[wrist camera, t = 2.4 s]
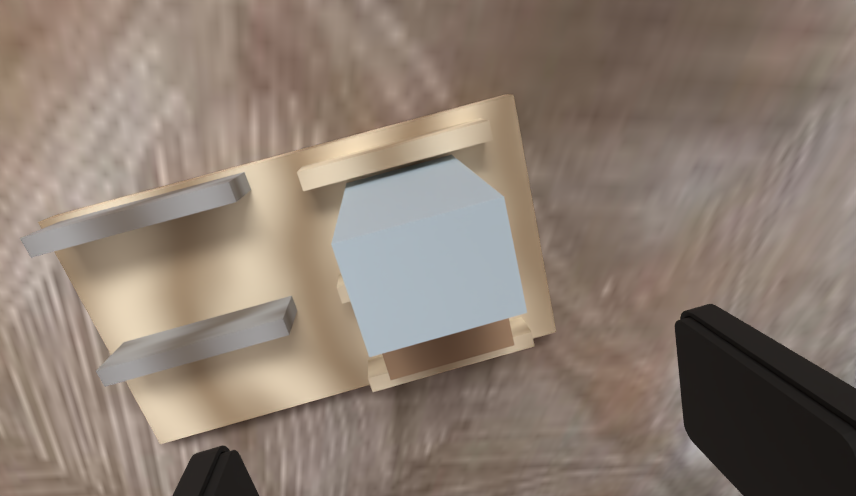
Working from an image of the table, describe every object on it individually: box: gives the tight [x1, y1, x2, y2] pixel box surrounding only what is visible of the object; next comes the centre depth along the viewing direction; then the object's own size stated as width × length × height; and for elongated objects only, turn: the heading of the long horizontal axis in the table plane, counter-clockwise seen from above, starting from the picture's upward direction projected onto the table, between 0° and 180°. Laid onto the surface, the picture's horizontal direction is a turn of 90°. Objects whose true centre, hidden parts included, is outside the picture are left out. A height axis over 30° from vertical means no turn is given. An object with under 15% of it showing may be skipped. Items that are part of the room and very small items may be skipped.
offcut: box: [382, 318, 514, 380], centre depth 27 cm, size 7×3×4 cm, turn 104°
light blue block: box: [331, 155, 527, 357], centre depth 22 cm, size 6×4×11 cm
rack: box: [20, 94, 556, 444], centre depth 27 cm, size 26×15×4 cm, turn 104°
